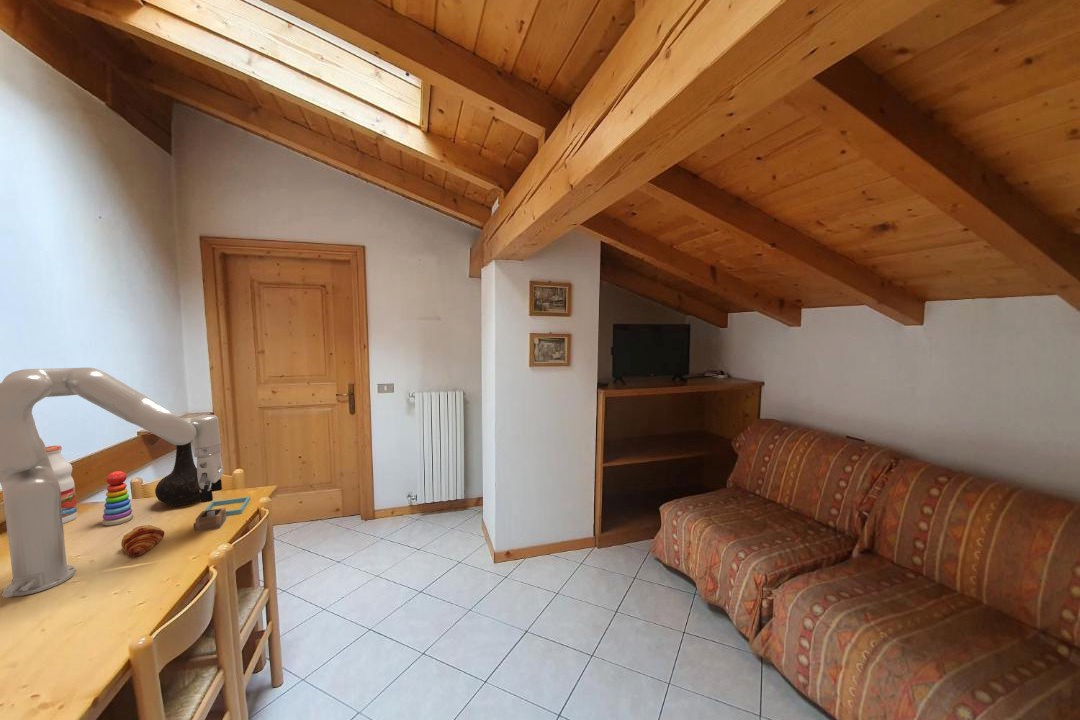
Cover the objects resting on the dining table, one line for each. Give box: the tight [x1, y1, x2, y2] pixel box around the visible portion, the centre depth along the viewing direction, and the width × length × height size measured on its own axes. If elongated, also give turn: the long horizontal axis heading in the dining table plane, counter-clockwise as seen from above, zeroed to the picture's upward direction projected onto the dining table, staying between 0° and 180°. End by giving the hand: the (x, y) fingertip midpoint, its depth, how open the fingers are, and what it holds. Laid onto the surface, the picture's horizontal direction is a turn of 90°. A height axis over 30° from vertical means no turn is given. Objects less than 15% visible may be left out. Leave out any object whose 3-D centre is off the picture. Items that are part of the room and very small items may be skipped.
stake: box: [196, 511, 229, 533], centre depth 145 cm, size 9×7×6 cm
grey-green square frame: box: [203, 496, 251, 517], centre depth 156 cm, size 13×13×2 cm
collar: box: [193, 507, 227, 533], centre depth 144 cm, size 7×8×4 cm
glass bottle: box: [154, 441, 209, 506], centre depth 164 cm, size 18×18×28 cm
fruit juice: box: [45, 445, 78, 524], centre depth 146 cm, size 9×9×28 cm
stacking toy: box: [101, 470, 134, 526], centre depth 147 cm, size 8×8×19 cm
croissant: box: [120, 524, 165, 557], centre depth 132 cm, size 21×10×8 cm, turn 39°
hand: (212, 495), depth 144 cm, fingers open, 9 cm apart
